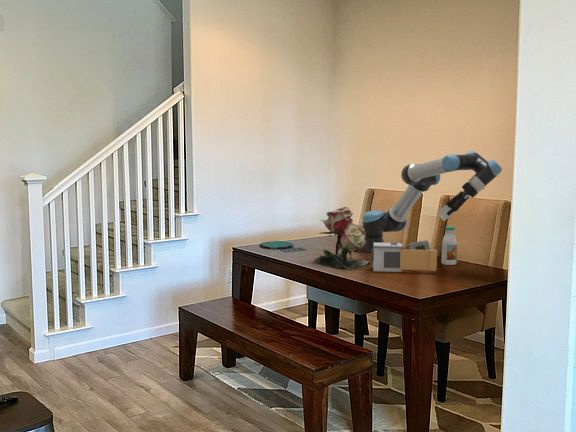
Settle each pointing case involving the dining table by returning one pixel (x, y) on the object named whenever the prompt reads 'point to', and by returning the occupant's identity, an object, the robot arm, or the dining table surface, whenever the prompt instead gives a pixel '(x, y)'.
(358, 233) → the rose bouquet
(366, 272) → the dining table surface
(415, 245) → the digital clock
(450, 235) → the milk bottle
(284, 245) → the cutlery set
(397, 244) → the box
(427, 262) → the tan long-handled part
